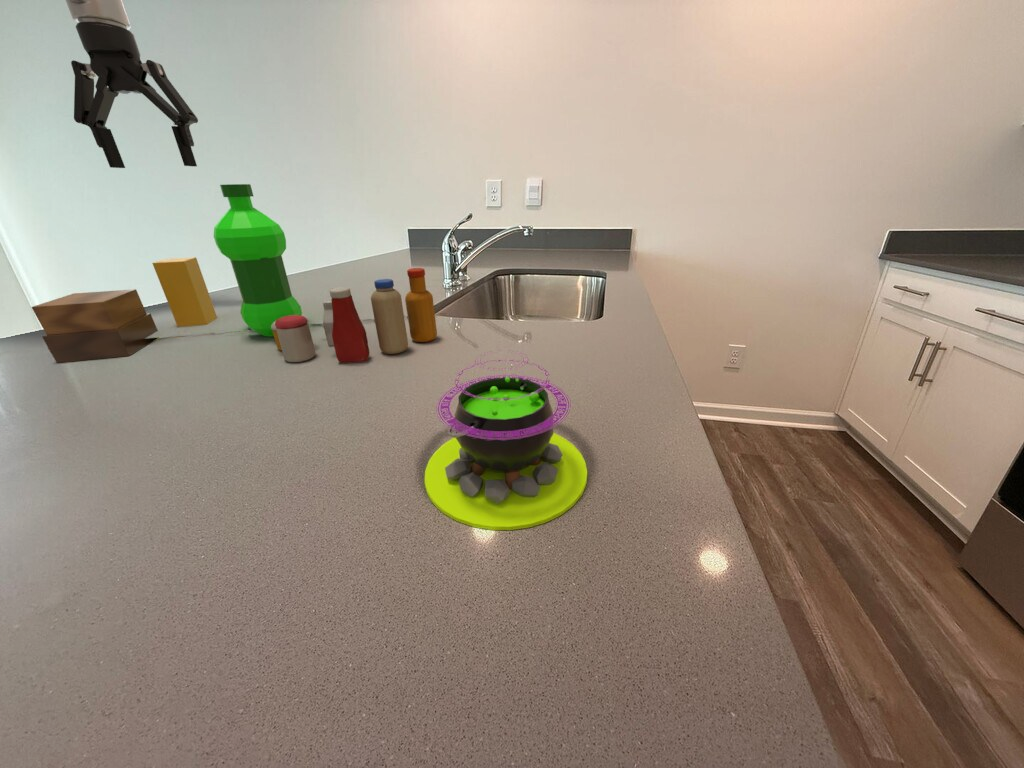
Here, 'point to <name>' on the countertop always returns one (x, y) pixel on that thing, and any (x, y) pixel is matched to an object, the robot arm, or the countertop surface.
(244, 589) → the countertop surface
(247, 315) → the plastic bottle
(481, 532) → the countertop surface
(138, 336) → the stacked wooden blocks
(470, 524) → the toy cauldron
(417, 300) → the toy food
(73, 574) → the countertop surface
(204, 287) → the bar
